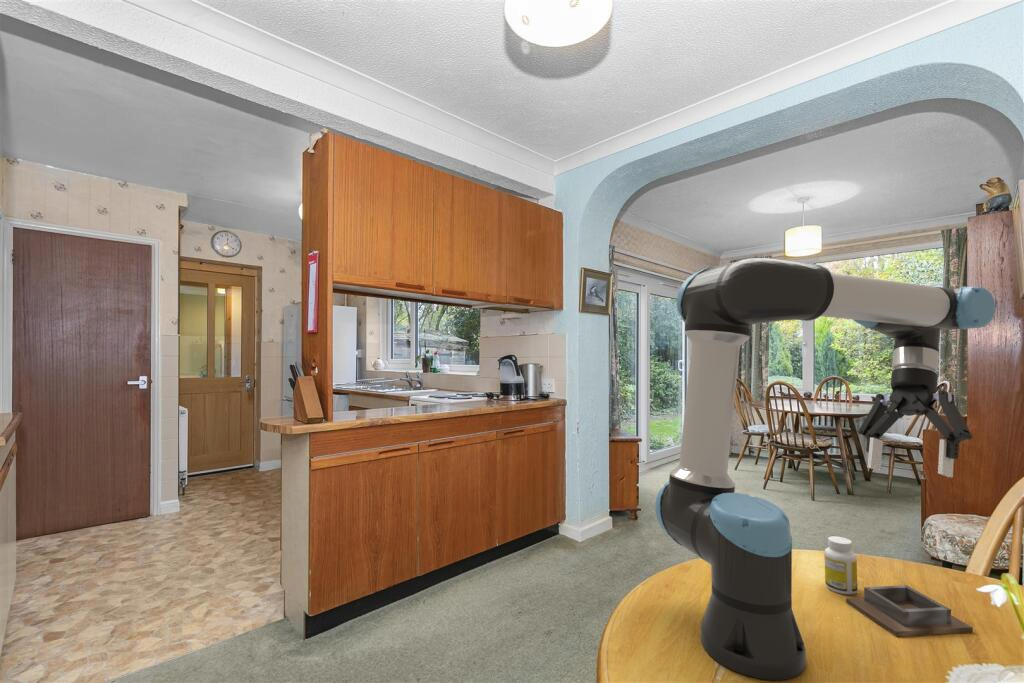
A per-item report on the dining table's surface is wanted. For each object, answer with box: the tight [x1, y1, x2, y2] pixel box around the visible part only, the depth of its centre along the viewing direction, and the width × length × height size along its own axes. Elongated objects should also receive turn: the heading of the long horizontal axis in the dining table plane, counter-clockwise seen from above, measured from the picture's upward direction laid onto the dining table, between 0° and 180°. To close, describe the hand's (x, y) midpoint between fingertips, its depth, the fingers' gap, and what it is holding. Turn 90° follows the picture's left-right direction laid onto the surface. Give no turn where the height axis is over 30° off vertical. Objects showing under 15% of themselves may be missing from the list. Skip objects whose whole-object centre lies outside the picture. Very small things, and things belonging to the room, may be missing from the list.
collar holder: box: [845, 584, 974, 638], centre depth 88 cm, size 14×11×3 cm
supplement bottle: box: [824, 535, 858, 596], centre depth 98 cm, size 5×5×10 cm
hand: (907, 472), depth 98 cm, fingers open, 13 cm apart
